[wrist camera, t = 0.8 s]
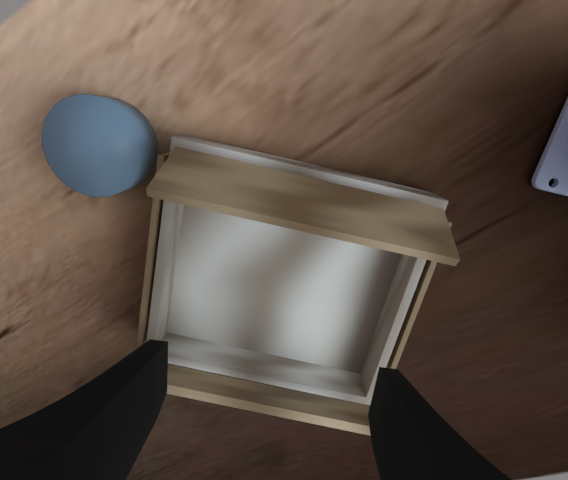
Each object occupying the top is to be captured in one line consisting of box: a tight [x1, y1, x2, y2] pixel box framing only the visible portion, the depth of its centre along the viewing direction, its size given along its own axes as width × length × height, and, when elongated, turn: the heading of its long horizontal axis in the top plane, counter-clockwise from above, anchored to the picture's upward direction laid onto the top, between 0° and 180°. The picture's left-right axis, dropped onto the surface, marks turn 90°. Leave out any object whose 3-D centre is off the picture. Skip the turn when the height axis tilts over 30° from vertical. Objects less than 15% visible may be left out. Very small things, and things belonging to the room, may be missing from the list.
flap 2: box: [167, 364, 371, 436], centre depth 19 cm, size 13×1×3 cm, turn 77°
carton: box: [137, 135, 452, 405], centre depth 21 cm, size 15×13×3 cm
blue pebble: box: [42, 94, 158, 197], centre depth 19 cm, size 5×5×2 cm
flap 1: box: [146, 146, 460, 266], centre depth 16 cm, size 13×1×3 cm, turn 77°
